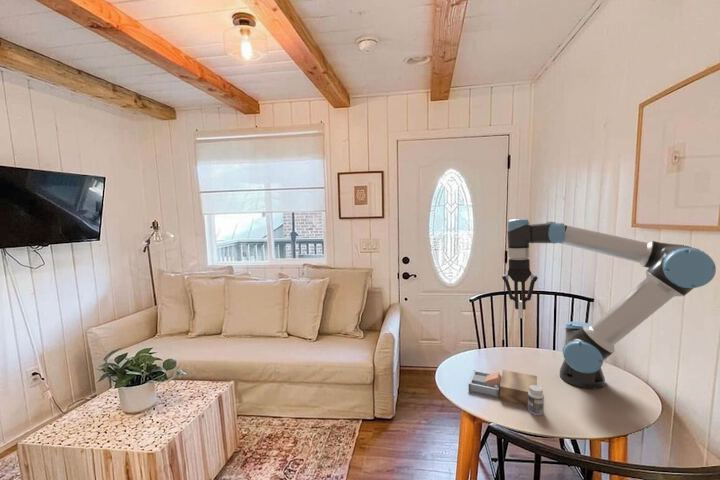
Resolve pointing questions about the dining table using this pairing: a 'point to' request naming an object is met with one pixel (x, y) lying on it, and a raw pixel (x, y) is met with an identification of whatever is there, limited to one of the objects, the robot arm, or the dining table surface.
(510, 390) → the brown block
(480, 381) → the slate-grey tile
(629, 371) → the dining table surface
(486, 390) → the tray
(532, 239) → the robot arm
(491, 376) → the terracotta tile
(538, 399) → the pill bottle
